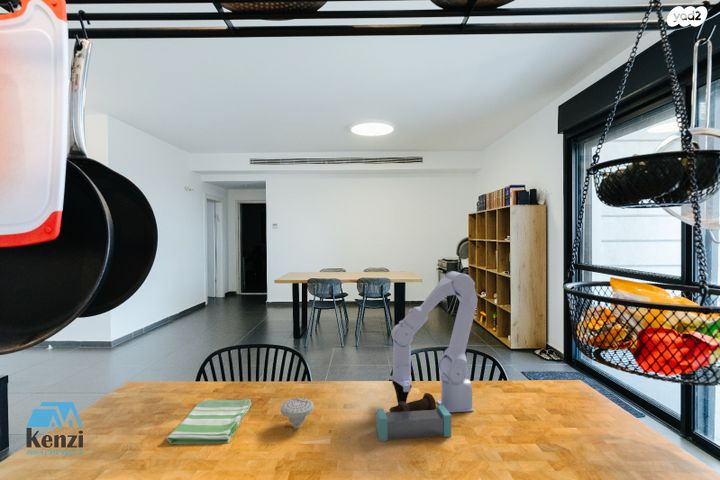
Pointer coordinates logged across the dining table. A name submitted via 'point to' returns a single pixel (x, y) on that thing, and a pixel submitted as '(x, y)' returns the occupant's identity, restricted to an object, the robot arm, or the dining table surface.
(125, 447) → the dining table surface
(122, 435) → the dining table surface
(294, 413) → the showerhead
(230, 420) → the dish towel
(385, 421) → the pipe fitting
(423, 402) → the bolt
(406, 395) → the robot arm
